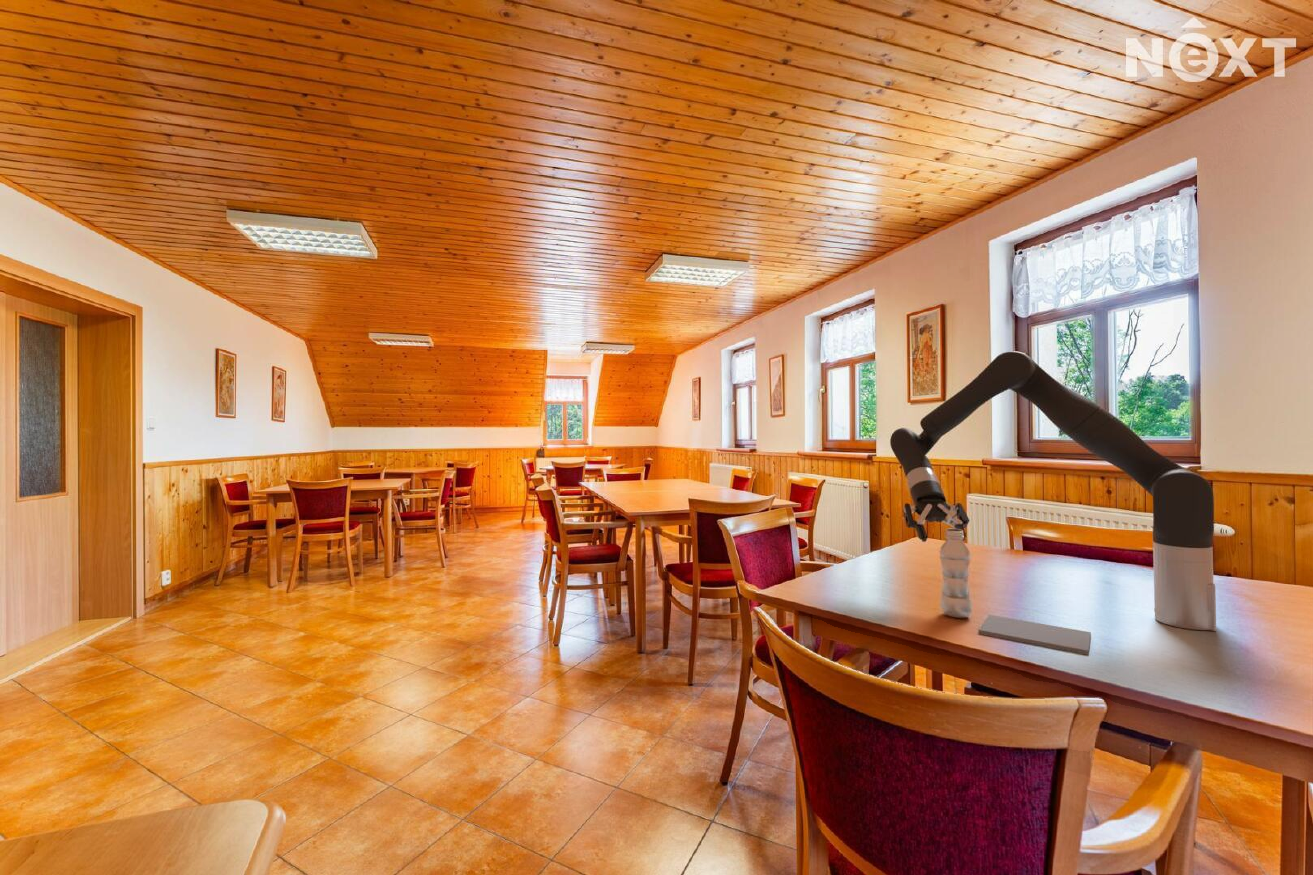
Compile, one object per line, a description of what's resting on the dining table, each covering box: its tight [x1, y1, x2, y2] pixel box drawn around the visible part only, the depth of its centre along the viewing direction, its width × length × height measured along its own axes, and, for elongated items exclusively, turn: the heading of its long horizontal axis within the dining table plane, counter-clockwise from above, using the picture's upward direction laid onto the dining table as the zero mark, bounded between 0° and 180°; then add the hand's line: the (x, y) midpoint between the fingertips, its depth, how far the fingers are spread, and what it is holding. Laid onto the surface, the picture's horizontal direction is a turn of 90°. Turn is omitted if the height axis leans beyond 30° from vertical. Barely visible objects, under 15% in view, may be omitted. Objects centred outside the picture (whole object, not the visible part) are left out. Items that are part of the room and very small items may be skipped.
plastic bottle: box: [939, 528, 973, 619], centre depth 123 cm, size 6×7×20 cm
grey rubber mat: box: [978, 614, 1092, 656], centre depth 111 cm, size 18×12×1 cm, turn 49°
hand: (943, 540), depth 129 cm, fingers open, 8 cm apart
